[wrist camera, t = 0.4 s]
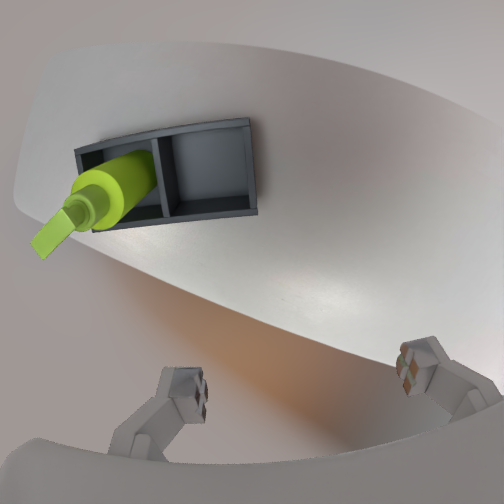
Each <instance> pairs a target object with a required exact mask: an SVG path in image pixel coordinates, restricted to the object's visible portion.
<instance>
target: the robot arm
mask: <svg viewBox="0 0 504 504" xmlns="http://www.w3.org/2000/svg"><path fill="white" fill-rule="evenodd" d="M400 351H401V354H400V355H399V356H398V358H397V362H396V369H397V373H398V376H399V378H400V379H402V380H404V384H403V387H404V389H405V391H406V393H407V395H408V397H411V396H415V395H419V394H423V393H425V394H426V395H427V396H429V397H430V398H431V399H432V400H434V401H435V402H436V403H438V404H439V405H440V406H441V407H443V408H444V409H445V410H446V411H448V412H449V413H450V414H451V415H453V417H452V418H451V420H450V421H449V423H448V424H447V425H445V426H442V427H439V428H436V429H433V430H430V431H427V432H424V433H421V434H418V435H415V436H412V437H408V438H405V439H401V440H398V441H394V442H391V443H386V444H383V445H378V446H375V447H370V448H365V449H361V450H356V451H351V452H346V453H341V454H335V455H329V456H323V457H316V458H309V459H301V460H293V461H282V462H272V463H254V464H188V463H187V464H186V463H172V462H169V461H168V460H167V459H166V457H165V456H164V455H163V453H162V452H163V451H164V449H165V448H166V447H167V446H168V445H169V443H170V442H171V441H172V440H173V439H174V437H175V436H176V435H177V434H178V432H179V431H180V430H181V429H182V427H183V426H184V424H187V423H188V424H194V423H195V424H197V423H205V418H206V408H205V405H204V404H205V403H206V402H207V399H208V389H207V384H206V380H205V379H203V371H202V368H201V367H164V368H163V370H162V373H161V377H160V381H159V384H158V388H157V392H156V396H155V397H151V398H150V399H149V400H148V401H147V402H146V403H145V404H144V405H143V406H141V407H140V408H139V409H138V410H137V411H136V412H135V413H134V414H132V415H131V416H130V417H129V418H128V419H127V420H126V421H124V422H123V423H122V424H121V425H120V426H119V427H118V428H116V429H115V431H114V434H113V437H112V440H111V444H110V447H109V450H108V454H103V453H98V452H93V451H88V450H83V449H79V448H74V447H70V446H66V445H63V444H58V443H55V442H51V441H48V440H45V439H41V438H34V439H32V440H29V441H28V442H26V443H25V444H23V445H21V446H20V447H18V448H17V449H15V450H14V451H12V452H11V453H10V454H9V455H8V456H7V458H6V459H5V461H4V463H3V464H2V466H1V468H0V504H504V399H503V397H502V396H501V394H500V392H499V391H498V389H497V387H496V386H495V384H494V383H493V381H492V380H490V379H488V378H486V377H484V376H483V375H481V374H479V373H477V372H475V371H473V370H471V369H469V368H468V367H466V366H464V365H462V364H460V363H458V362H456V361H455V360H450V359H449V357H448V355H447V354H446V352H445V351H444V349H443V348H442V346H441V345H440V343H439V341H438V340H437V338H436V337H435V336H430V337H426V338H421V339H417V340H413V341H408V342H404V343H402V345H401V347H400Z"/></svg>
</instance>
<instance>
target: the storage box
mask: <svg viewBox="0 0 504 504" xmlns="http://www.w3.org/2000/svg"><path fill="white" fill-rule="evenodd" d="M134 150H146V151H148V152H150V153H152V154H153V159H154V166H155V172H156V178H157V186H156V187H155V188H154V189H153V190H152V191H151V192H149V193H148V194H147V195H146V196H145V197H144V198H143V199H142V200H141V201H140V202H138V203H137V204H136V205H135V206H134V207H133V208H132V209H131V210H130V211H129V212H128V213H127V214H126V215H125V216H124V217H123V218H121V219H120V220H119V221H118V222H117V223H116V224H115V225H114V226H113V227H111V228H109V229H105V230H95V229H92V233H95V232H103V231H111V230H119V229H127V228H135V227H144V226H152V225H161V224H170V223H180V222H189V221H199V220H209V219H220V218H230V217H242V216H253V215H258V209H257V197H256V186H255V174H254V163H253V152H252V141H251V130H250V119H249V117H247V118H236V119H227V120H218V121H210V122H202V123H195V124H188V125H181V126H175V127H169V128H163V129H157V130H152V131H147V132H141V133H136V134H132V135H127V136H122V137H118V138H113V139H109V140H105V141H101V142H97V143H93V144H90V145H87V146H83V147H80V148H77V149H74V152H75V158H76V163H77V169H78V174H79V176H80V175H81V174H82V173H84V172H86V171H88V170H90V169H92V168H94V167H97V166H99V165H101V164H103V163H105V162H108V161H110V160H112V159H115V158H117V157H119V156H122V155H124V154H127V153H129V152H132V151H134Z"/></svg>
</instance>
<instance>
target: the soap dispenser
mask: <svg viewBox="0 0 504 504" xmlns="http://www.w3.org/2000/svg"><path fill="white" fill-rule="evenodd" d="M156 186H157V178H156V172H155V166H154V159H153V154H152V153H150V152H148V151H146V150H134V151H132V152H129V153H127V154H124V155H122V156H119V157H117V158H115V159H112V160H110V161H108V162H105V163H103V164H101V165H99V166H97V167H94V168H92V169H90V170H88V171H86V172H84V173H82V174H81V175H80V176H79V177H78V178H77V179H76V180H75V182H74V184H73V186H72V189H71V195H70V196H69V197H68V198H67V199H66V200H65V202H64V205H63V207H62V208H61V209H60V210H59V211H58V212H57V213H56V214H55V215H54V216H53V217H52V218H51V219H50V220H49V221H48V223H47V224H46V225H45V226H44V227H43V228H42V229H41V230H40V232H39V233H38V234H37V235H36V236H35V238H34V239H33V240H32V241H31V243H30V244H31V246H32V247H33V248H34V249H35V251H36V252H37V254H38V255H39V256H40V257H41V258H42V260H44V259H45V258H46V257H47V256H48V255H49V254H50V253H51V252H52V251H53V250H54V249H55V248H56V247H57V246H58V245H59V244H60V243H61V242H62V241H63V240H64V239H66V237H68V236H69V235H70V234H71V233H72V232H73V231H74V230H75V231H78V232H85V231H87V230H89V229H95V230H105V229H109V228H111V227H113V226H114V225H115V224H116V223H117V222H118V221H119V220H120V219H121V218H123V217H124V216H125V215H126V214H127V213H128V212H129V211H130V210H131V209H132V208H133V207H134V206H135V205H136V204H137V203H138V202H140V201H141V200H142V199H143V198H144V197H145V196H146V195H147V194H148V193H149V192H151V191H152V190H153V189H154V188H155V187H156Z"/></svg>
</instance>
